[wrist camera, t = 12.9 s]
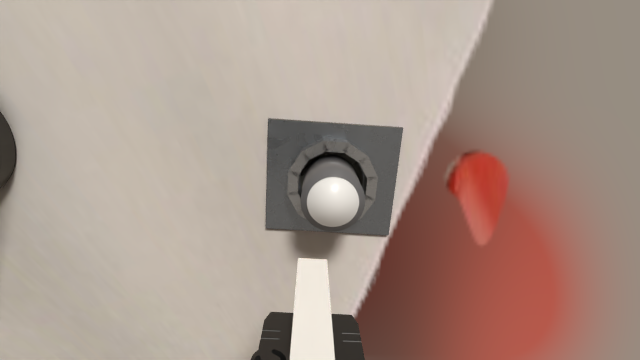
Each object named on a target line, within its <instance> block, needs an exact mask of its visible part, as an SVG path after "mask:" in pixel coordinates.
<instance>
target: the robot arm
mask: <svg viewBox="0 0 640 360" xmlns="http://www.w3.org/2000/svg"><path fill="white" fill-rule="evenodd" d="M14 164H15V144H14V140H13V136H12V133H11V130H10V128H9V126H8V124H7V122H6V120H5V118H4V117H3V115H2V114H1V112H0V188H1V187H2V186H3V185H4V184H5V183H6V182H7V181H8V179H9V178H10V176H11V174H12V171H13V168H14ZM359 333H360V332H359V327H358V323H357V322H356V320H355V319H354V318H353V316H352V315H342V314H331V304H330V291H329V279H328V266H327V260H326V259H308V258H298V266H297V278H296V290H295V302H294V313H283V312H271V313H270V314H269V315H268V316H267V318H266V319H265V320H264V325H263V331H262V335H261V340H260V345H259V350H258V351H257V352H255V353H254V354H253V356H252V358H251V360H365V359H364V353H363V348H362V343H361V337H360V334H359Z"/></svg>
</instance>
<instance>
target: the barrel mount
mask: <svg viewBox="0 0 640 360" xmlns="http://www.w3.org/2000/svg"><path fill="white" fill-rule="evenodd" d="M402 132H403V128H402V127H390V126H375V125H360V124H345V123H330V122H316V121H301V120H286V119H271V118H269V119H268V151H267V193H266V228H272V229H289V230H306V231H323V232H330V231H324V230H321V229H318V228H316V227H315V226H313V225H312V224H311V223H310V222H308V220H307V219H306V218H305V216H304V214H303V212H302V209H301V193H302V186H303V179H304V174H305V171H306V168H307V167H308V165H309V164H310V163H311V162H312V161H313V160H314V159H316V158H317V157H320V156H322V155H327V154H333V155H338V156H341V157H343V158H345V159H346V160H347V161H348V162H349V163H350V164H351V165H352V167H353V168H354V170H355V173H356V175H357V177H358V179H359V182H360V184H361V186H362V188H363V191H364V194H365V207H364V210H363V213H362V215H361V217H360V218H359V219H358V220H357V222H356V223H354V224H353V225H352V226H350V227H349V228H347V229H344V230H341V231H335V232H340V233H357V234H374V235H389V227H390V220H391V213H392V205H393V198H394V191H395V183H396V176H397V169H398V161H399V154H400V147H401V139H402Z"/></svg>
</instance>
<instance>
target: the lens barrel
mask: <svg viewBox="0 0 640 360" xmlns="http://www.w3.org/2000/svg"><path fill="white" fill-rule="evenodd" d="M364 207H365V194H364V191H363V188H362V186H361V184H360V182H359V179H358V177H357V175H356V173H355V170H354V168H353V167H352V165H351V164H350V163H349V162H348V161H347V160H346V159H345V158H343V157H341V156H338V155H333V154H327V155H322V156H320V157H317V158H316V159H314V160H313V161H312V162H311V163H310V164H309V165H308V167H307V168H306V171H305V174H304V179H303V186H302V193H301V209H302V212H303V214H304V216H305V218H306V219H307V220H308V222H310V223H311V224H312V225H313V226H315V227H316V228H318V229H321V230H324V231H330V232H335V231H341V230H344V229H347V228H349V227H350V226H352V225H353V224H354V223H356V222H357V220H358V219H359V218H360V217H361V215H362V213H363V210H364Z"/></svg>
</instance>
